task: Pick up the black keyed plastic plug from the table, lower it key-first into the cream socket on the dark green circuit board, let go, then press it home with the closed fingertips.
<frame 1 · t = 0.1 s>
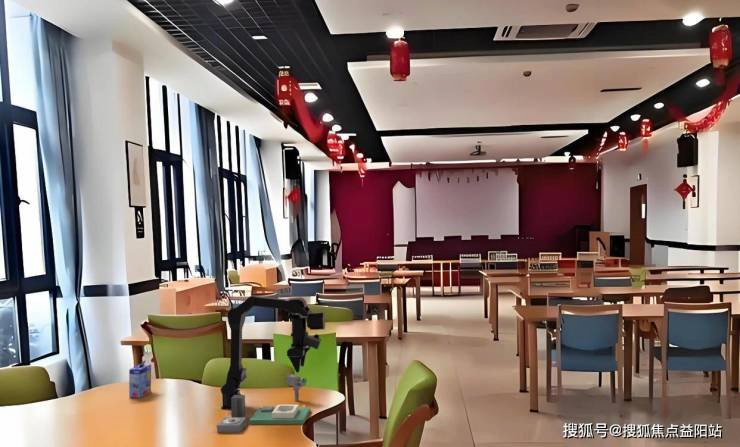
hand: (300, 369, 219), 15 cm above the table, fingers open, 9 cm apart
board: (280, 417, 207), on the table
ink cartridge box: (140, 395, 241), on the table
mechanical component: (296, 401, 227), on the table
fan: (231, 428, 197), on the table
plug: (238, 417, 208), on the table
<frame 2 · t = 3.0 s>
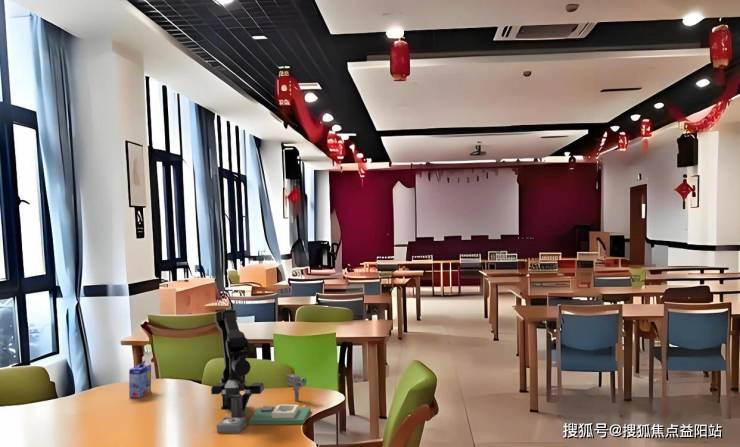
hand: (238, 411, 208), 2 cm above the table, fingers closed on plug, 4 cm apart
plug: (238, 417, 208), on the table, touching gripper
everything else where it was.
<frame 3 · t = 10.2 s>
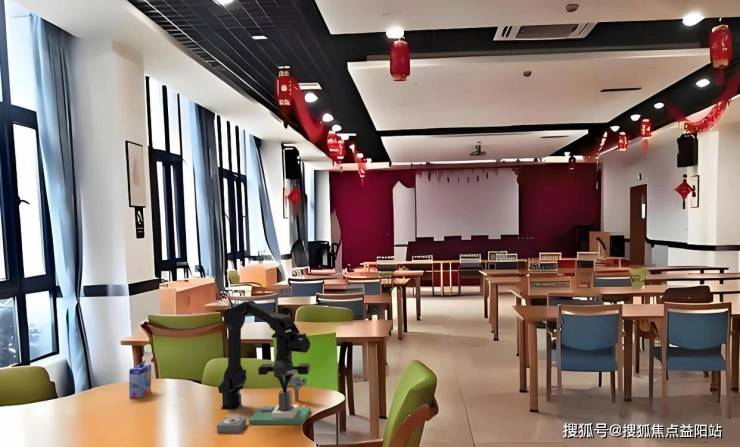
hand: (285, 392, 207), 9 cm above the table, fingers closed, pressing on plug
plug: (285, 413, 207), point 1 cm above the table, touching board, gripper
everything else where it was.
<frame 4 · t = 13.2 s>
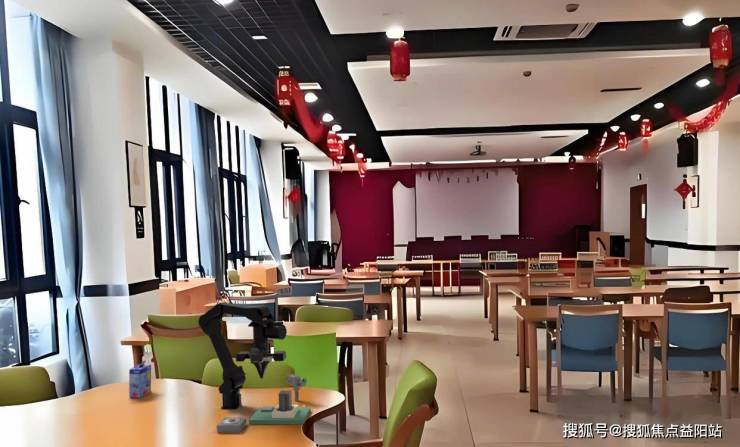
hand: (261, 378, 215), 13 cm above the table, fingers closed
plug: (285, 413, 207), point 1 cm above the table, touching board
everything else where it was.
at the end: plug 0.1 cm from the target spot on the board, point 1.5 cm above the board's base; plug tilted 0°; the gripper is holding nothing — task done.
